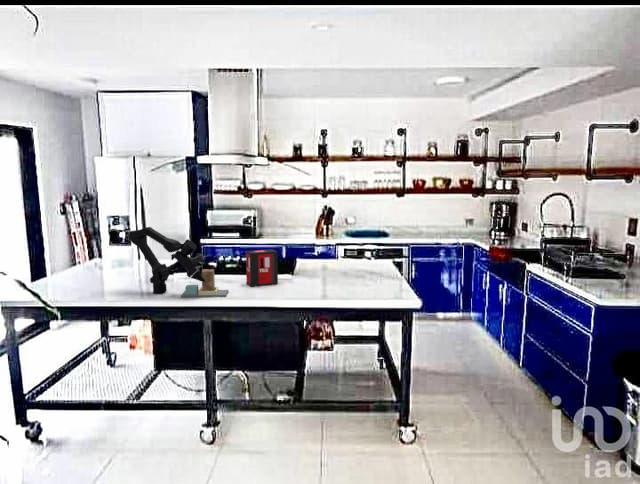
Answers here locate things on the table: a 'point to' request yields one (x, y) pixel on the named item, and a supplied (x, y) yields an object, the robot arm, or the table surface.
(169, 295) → the table surface
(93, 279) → the table surface
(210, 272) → the pillar
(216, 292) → the board
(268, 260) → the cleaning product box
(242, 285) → the table surface
